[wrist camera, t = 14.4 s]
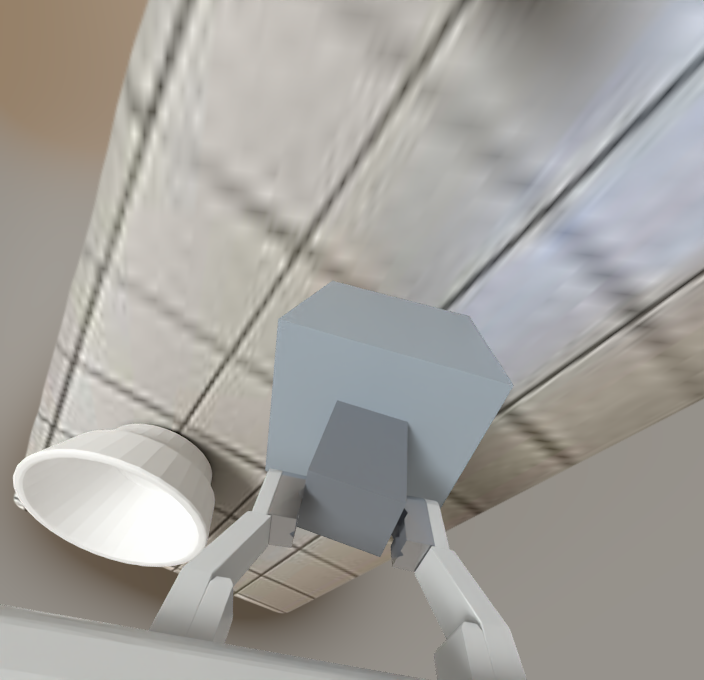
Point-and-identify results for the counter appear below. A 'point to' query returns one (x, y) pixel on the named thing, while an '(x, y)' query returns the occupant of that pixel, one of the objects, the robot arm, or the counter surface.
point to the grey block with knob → (377, 407)
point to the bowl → (123, 494)
